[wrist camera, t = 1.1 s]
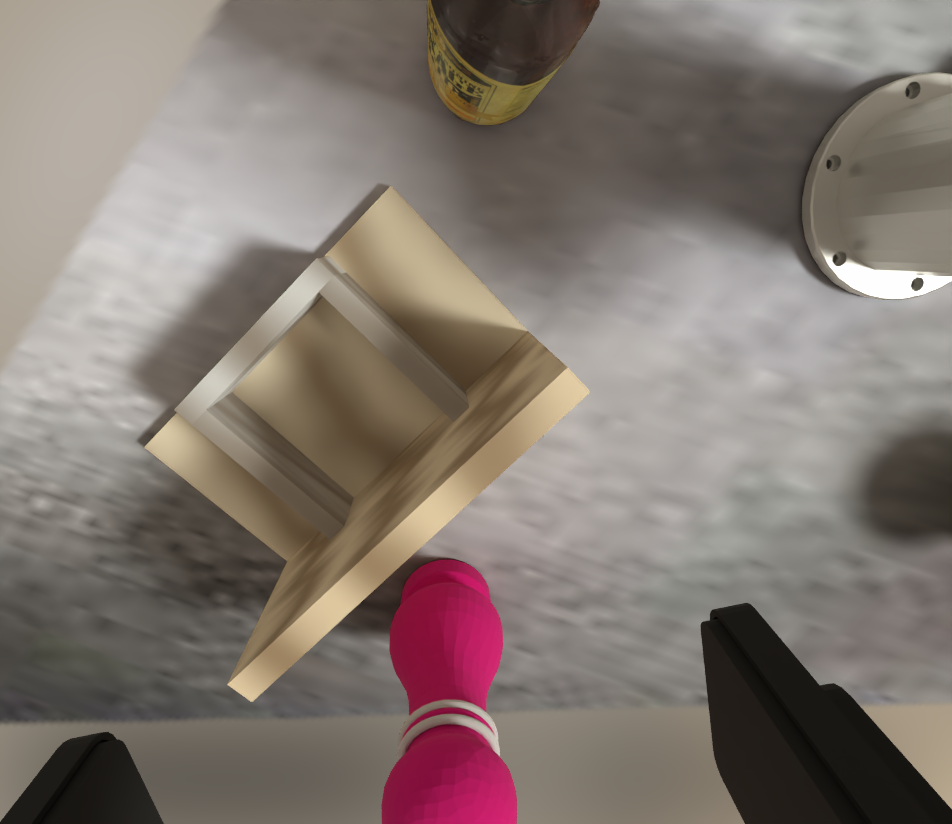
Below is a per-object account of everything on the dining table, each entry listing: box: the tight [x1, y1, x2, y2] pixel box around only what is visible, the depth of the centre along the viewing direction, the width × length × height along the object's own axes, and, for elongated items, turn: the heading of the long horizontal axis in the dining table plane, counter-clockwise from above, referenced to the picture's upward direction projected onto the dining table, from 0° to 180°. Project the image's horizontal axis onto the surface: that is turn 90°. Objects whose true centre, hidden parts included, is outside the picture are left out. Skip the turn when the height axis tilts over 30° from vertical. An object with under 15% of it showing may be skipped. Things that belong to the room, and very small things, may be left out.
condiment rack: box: [144, 186, 590, 702], centre depth 30 cm, size 22×13×12 cm, turn 134°
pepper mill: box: [382, 560, 517, 824], centre depth 31 cm, size 7×7×20 cm
